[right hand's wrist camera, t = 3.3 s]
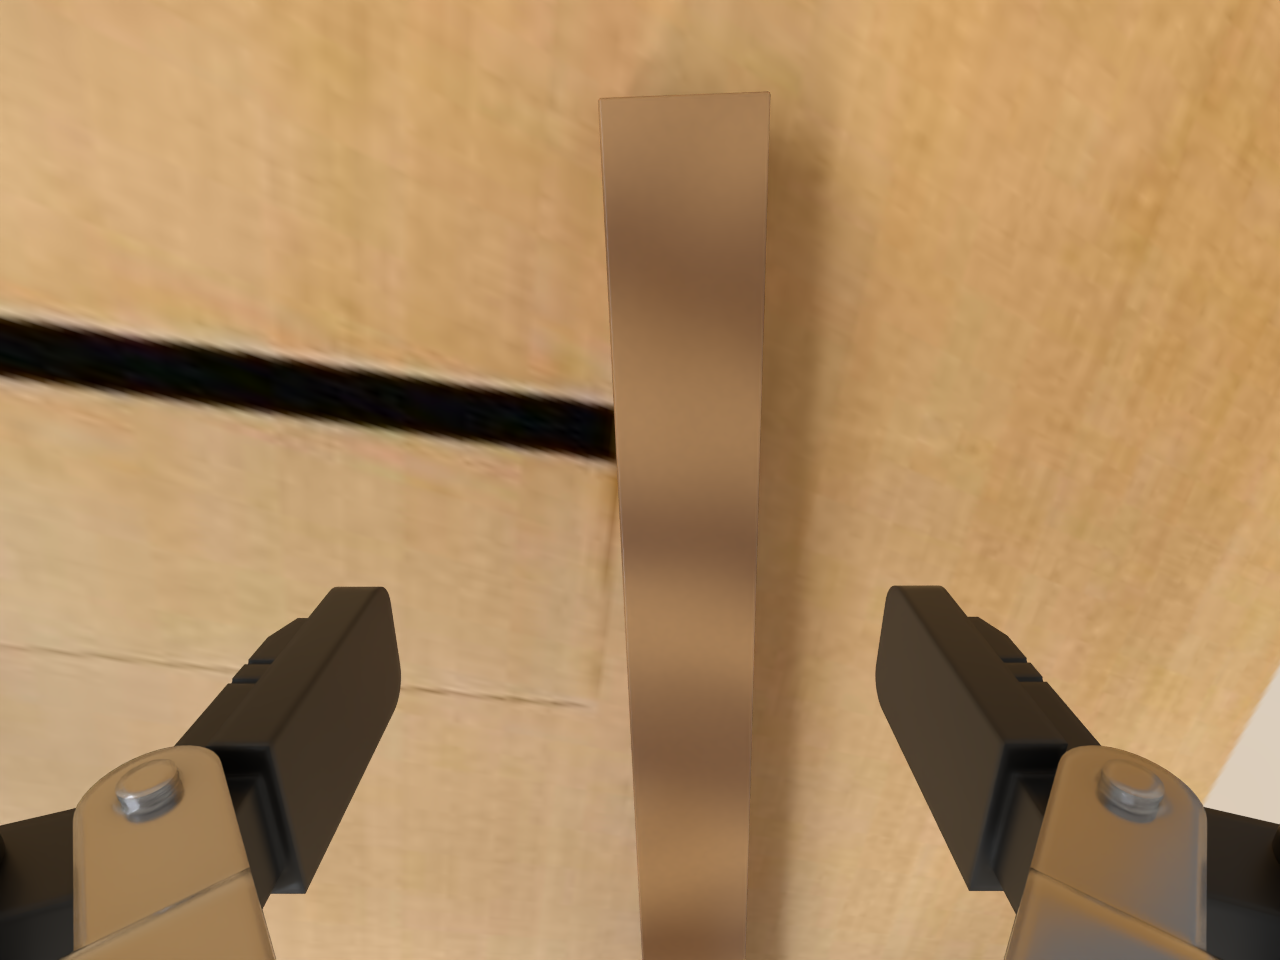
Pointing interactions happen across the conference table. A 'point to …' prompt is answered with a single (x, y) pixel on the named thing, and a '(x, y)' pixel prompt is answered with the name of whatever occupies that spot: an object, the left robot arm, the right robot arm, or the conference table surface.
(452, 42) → the conference table surface
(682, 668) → the bar
